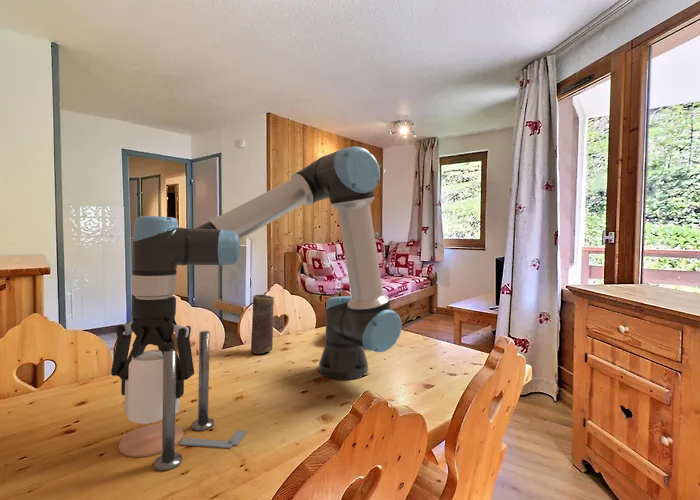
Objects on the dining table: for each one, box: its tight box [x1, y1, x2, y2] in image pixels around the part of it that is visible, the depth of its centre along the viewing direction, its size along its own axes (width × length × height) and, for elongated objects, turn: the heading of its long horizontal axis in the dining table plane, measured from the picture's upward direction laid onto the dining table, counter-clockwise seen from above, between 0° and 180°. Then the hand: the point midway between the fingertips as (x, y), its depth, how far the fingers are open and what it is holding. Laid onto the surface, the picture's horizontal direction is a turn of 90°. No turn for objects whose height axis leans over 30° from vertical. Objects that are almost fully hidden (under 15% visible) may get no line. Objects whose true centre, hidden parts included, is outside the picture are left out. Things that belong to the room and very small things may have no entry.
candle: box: [250, 294, 275, 355], centre depth 127 cm, size 8×7×20 cm
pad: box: [118, 422, 184, 458], centre depth 71 cm, size 11×11×1 cm
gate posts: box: [153, 330, 215, 472], centre depth 70 cm, size 4×17×20 cm, turn 176°
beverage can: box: [127, 349, 163, 425], centre depth 70 cm, size 8×8×12 cm
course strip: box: [178, 429, 247, 449], centre depth 72 cm, size 11×6×1 cm, turn 86°
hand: (152, 412), depth 70 cm, fingers closed on beverage can, 8 cm apart
